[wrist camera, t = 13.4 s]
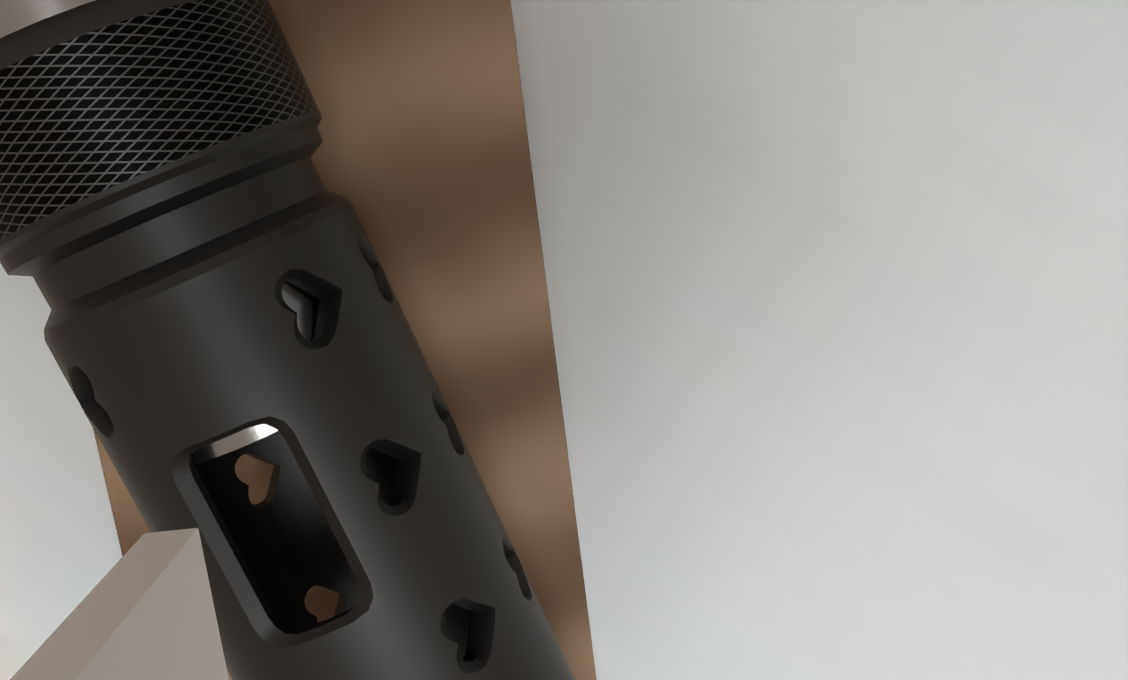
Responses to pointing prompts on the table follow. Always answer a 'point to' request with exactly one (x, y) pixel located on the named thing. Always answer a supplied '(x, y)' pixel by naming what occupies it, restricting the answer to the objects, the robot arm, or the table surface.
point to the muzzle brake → (249, 344)
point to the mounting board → (446, 257)
